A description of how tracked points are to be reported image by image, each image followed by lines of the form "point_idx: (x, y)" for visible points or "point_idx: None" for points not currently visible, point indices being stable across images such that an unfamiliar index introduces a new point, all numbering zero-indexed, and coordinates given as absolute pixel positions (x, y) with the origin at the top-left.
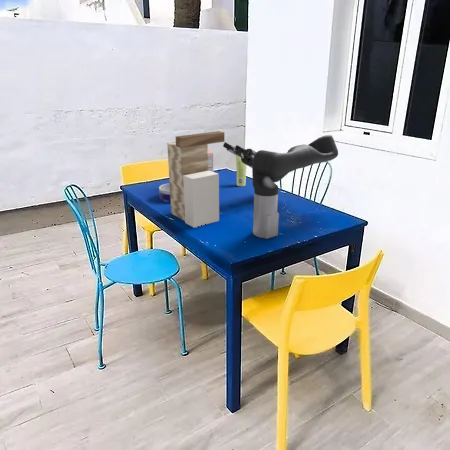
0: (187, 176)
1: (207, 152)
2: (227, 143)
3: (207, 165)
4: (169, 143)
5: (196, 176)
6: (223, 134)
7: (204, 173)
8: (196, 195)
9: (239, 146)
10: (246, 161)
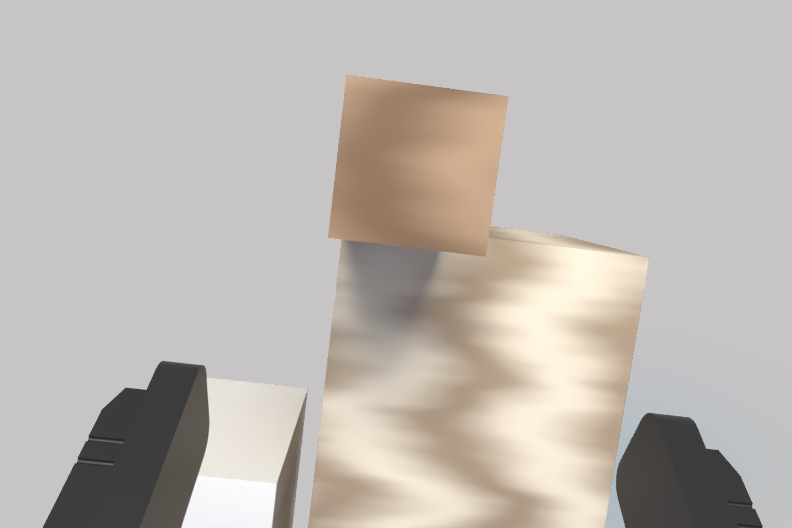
0: (263, 386)
1: (333, 310)
2: (671, 465)
3: (318, 447)
4: (547, 233)
5: (214, 397)
6: (344, 113)
7: (227, 436)
8: None
9: (135, 414)
10: None
